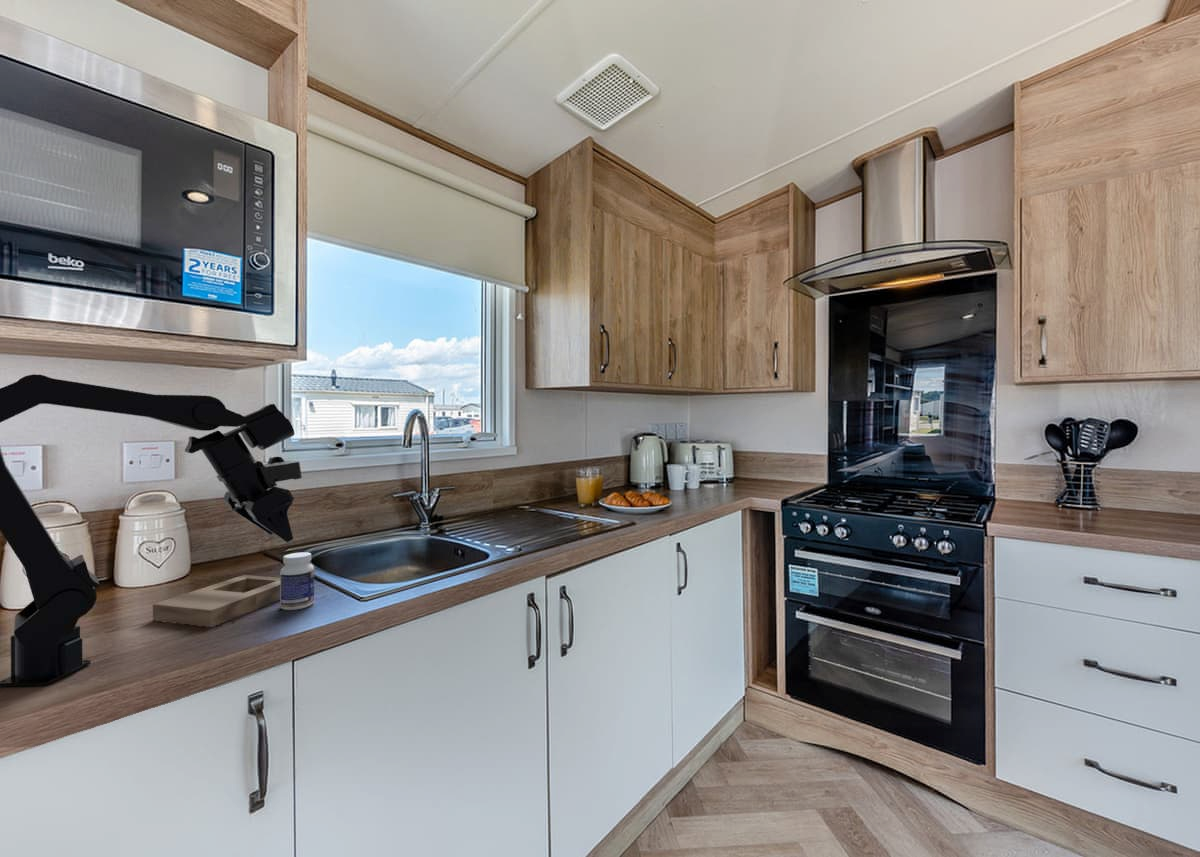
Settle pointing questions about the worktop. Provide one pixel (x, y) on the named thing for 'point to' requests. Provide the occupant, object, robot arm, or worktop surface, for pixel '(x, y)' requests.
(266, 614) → the worktop surface
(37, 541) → the robot arm
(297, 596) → the pill bottle
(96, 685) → the worktop surface
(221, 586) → the brown block with opening
